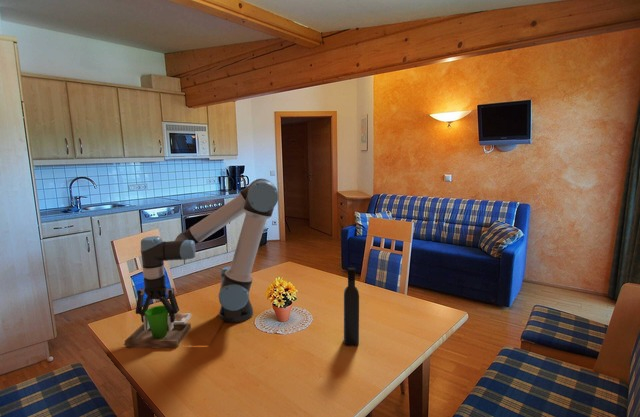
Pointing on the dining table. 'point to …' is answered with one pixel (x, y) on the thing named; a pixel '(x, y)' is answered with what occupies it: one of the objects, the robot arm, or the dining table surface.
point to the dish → (184, 319)
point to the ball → (178, 316)
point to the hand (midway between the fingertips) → (159, 329)
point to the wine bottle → (351, 310)
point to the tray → (147, 341)
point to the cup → (157, 321)
